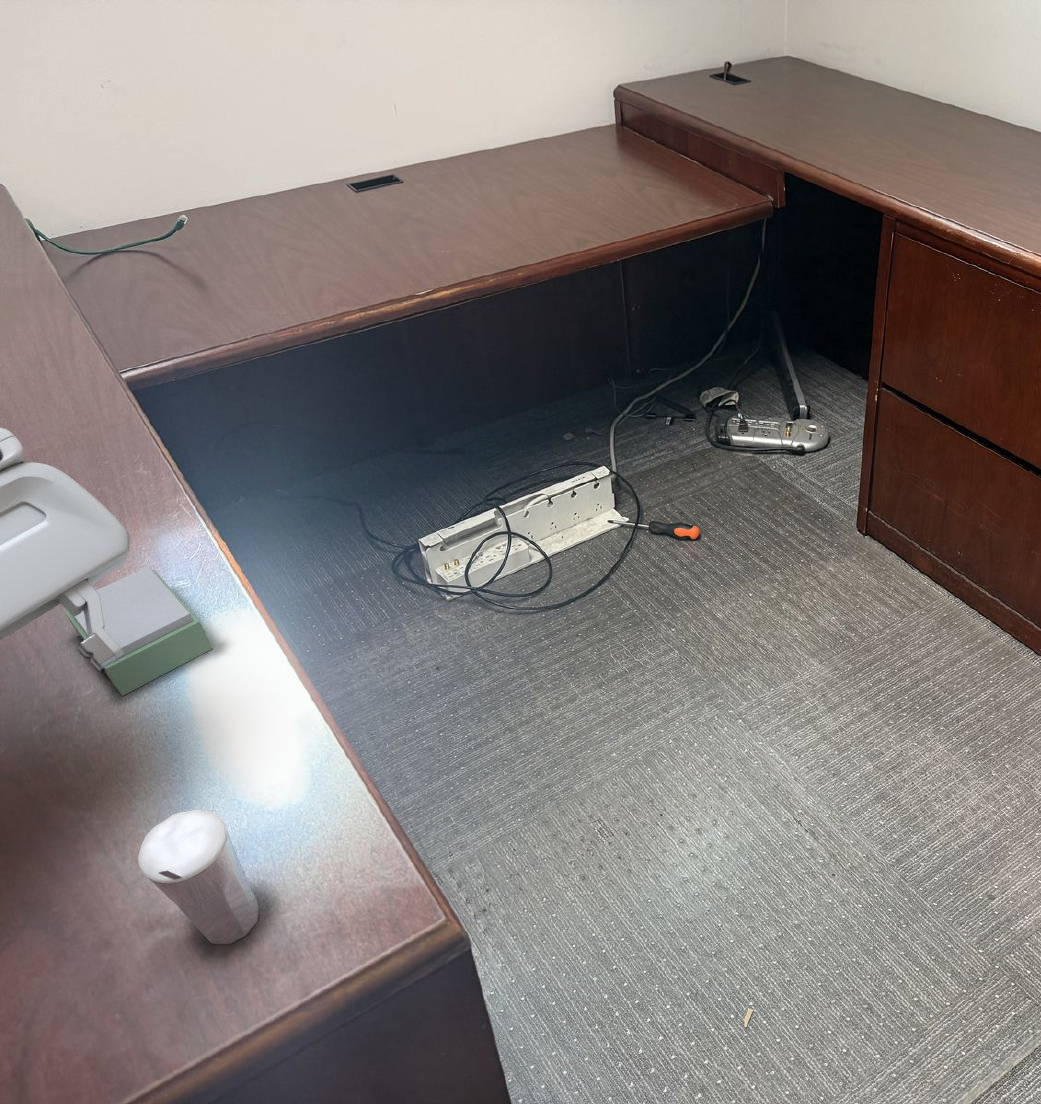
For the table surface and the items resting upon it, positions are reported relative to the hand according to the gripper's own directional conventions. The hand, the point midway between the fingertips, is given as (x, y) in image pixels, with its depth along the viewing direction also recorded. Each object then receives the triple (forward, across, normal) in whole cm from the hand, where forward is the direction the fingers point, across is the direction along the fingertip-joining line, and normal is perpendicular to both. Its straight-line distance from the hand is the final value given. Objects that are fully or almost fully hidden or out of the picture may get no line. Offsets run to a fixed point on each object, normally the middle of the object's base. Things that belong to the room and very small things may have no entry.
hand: (34, 713), depth 57 cm
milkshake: (+17, 0, +3) cm, 17 cm away
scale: (-2, +12, +22) cm, 25 cm away
